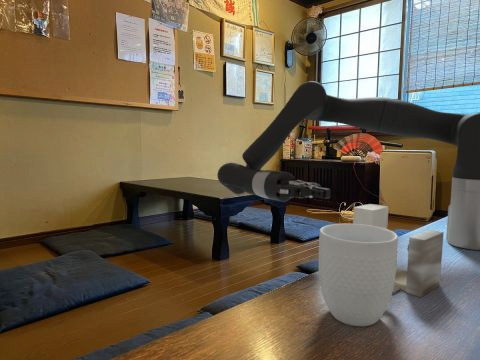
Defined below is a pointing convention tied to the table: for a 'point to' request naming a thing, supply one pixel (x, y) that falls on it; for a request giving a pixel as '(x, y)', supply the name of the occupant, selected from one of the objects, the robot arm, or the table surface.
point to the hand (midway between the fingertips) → (328, 194)
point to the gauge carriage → (371, 215)
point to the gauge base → (421, 264)
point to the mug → (357, 271)
